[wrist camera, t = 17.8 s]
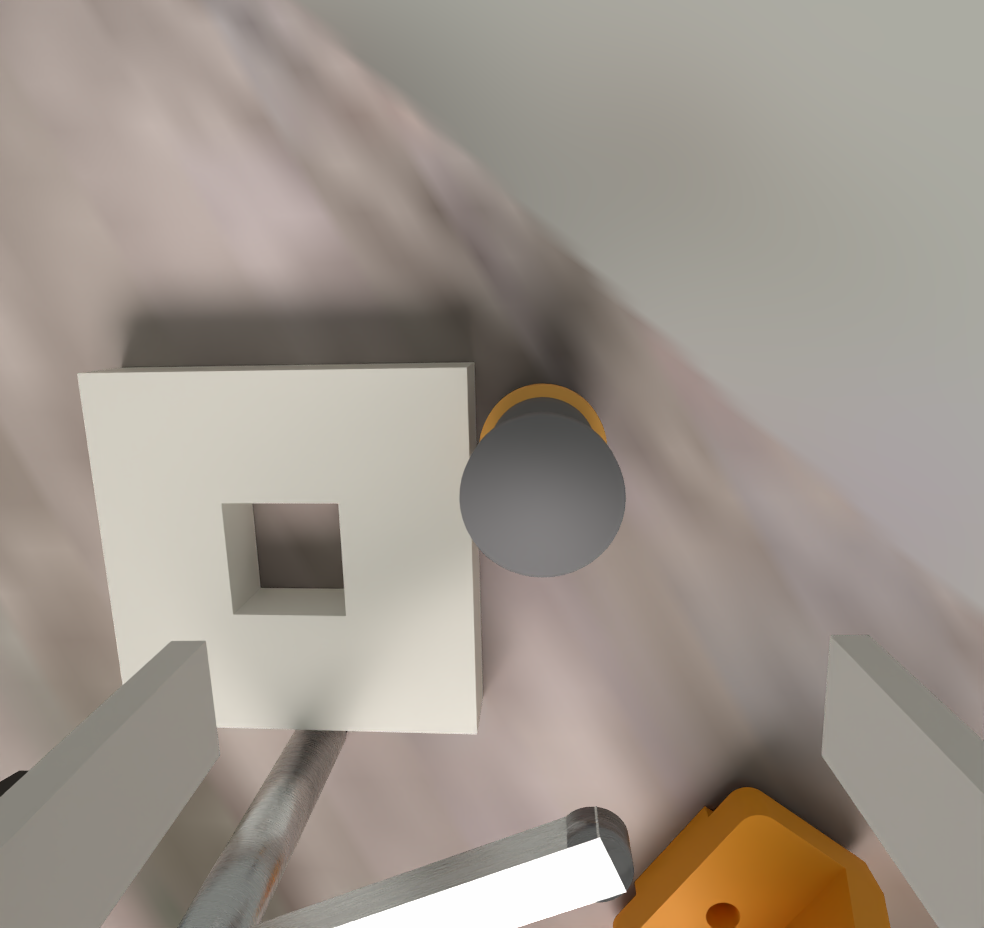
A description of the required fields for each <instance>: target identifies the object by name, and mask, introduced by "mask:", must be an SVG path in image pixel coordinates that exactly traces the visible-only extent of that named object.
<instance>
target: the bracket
mask: <svg viewBox="0 0 984 928" xmlns="http://www.w3.org/2000/svg"><path fill="white" fill-rule="evenodd" d="M634 883H635V889H636V895H635V897H634V898H633V899H632V900H631V901H630V902H629V903H628V904H627V905H626V906H625V907H624V908H623V909H622V911H621V912H620V913H619V914H618V915H617V916H616V917H615V919H614V922H613V928H890V923H889V918H888V913H887V908H886V903H885V898H884V894H883V892H882V890H881V889H880V887H879V885H878V883H877V882H876V880H875V878H874V877H873V875H872V873H871V871H870V870H869V868H868V866H867V865H866V863H865V862H864V861H863V860H861V859H860V858H858V857H857V856H855V855H854V854H852V853H851V852H849V851H848V850H846V849H845V848H844V847H842V846H841V845H839V844H838V843H836V842H835V841H833V840H832V839H830V838H829V837H827V836H826V835H824V834H823V833H822V832H820V831H819V830H817V829H816V828H814V827H813V826H811V825H810V824H808V823H807V822H805V821H804V820H802V819H801V818H800V817H798V816H797V815H795V814H794V813H792V812H791V811H789V810H788V809H786V808H785V807H783V806H782V805H780V804H779V803H777V802H776V801H775V800H773V799H772V798H770V797H769V796H767V795H766V794H764V793H763V792H761V791H760V790H758V789H755V788H751V787H743V788H739V789H736V790H735V791H733V792H732V793H730V794H729V795H728V797H727V798H726V799H725V800H724V801H723V802H722V803H721V804H720V805H719V806H718V807H717V808H716V809H715V811H714V812H713V811H711V810H710V809H708V808H707V807H705V806H704V807H703V809H702V810H701V811H700V812H699V813H698V814H697V815H696V816H695V817H694V818H693V819H692V820H691V822H690V823H689V824H688V825H687V826H686V827H685V828H684V829H683V830H682V831H681V832H680V833H679V834H678V836H677V837H676V838H675V839H674V840H673V841H672V842H671V843H670V844H669V845H668V846H667V847H666V849H665V850H664V851H663V852H662V853H661V854H660V855H659V856H658V857H657V858H656V859H655V860H654V861H653V863H652V864H651V865H650V866H649V867H648V868H647V869H646V870H645V871H644V872H643V873H642V874H641V876H640V877H639V878H638V879H637V880H636V881H635V882H634Z"/></svg>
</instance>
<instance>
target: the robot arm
mask: <svg viewBox="0 0 984 928" xmlns="http://www.w3.org/2000/svg"><path fill="white" fill-rule="evenodd" d="M219 756H220V750H219V742H218V734H217V726H216V718H215V710H214V701H213V693H212V685H211V677H210V669H209V661H208V653H207V645H206V641H171V642H169V643H168V644H167V645H166V646H165V647H164V648H163V649H162V650H161V651H160V652H159V653H157V654H156V655H155V656H154V657H153V658H152V659H151V660H150V661H149V662H148V663H146V664H145V665H144V666H143V667H142V668H141V669H140V670H139V671H138V672H137V673H136V674H134V675H133V676H132V677H131V678H130V679H129V680H128V681H127V682H126V683H125V684H123V685H122V686H121V687H120V688H119V689H118V690H117V691H116V692H115V693H114V694H113V695H111V696H110V697H109V698H108V699H107V700H106V701H105V702H104V703H103V704H102V705H100V706H99V707H98V708H97V709H96V710H95V711H94V712H93V713H92V714H91V715H90V716H88V717H87V718H86V719H85V720H84V721H83V722H82V723H81V724H80V725H79V726H77V727H76V728H75V729H74V730H73V731H72V732H71V733H70V734H69V735H68V736H67V737H65V738H64V739H63V740H62V741H61V742H60V743H59V744H58V745H57V746H56V747H54V748H53V749H52V750H51V751H50V752H49V753H48V754H47V755H46V756H45V757H44V758H42V759H41V760H40V761H39V762H38V763H37V764H36V765H35V766H34V767H33V768H31V769H30V770H29V771H18V772H16V773H15V774H13V775H11V776H9V777H8V778H6V779H4V780H3V781H1V782H0V928H100V927H101V925H102V924H103V923H104V921H105V920H106V918H107V917H108V915H109V914H110V912H111V911H112V910H113V908H114V907H115V905H116V904H117V902H118V901H119V900H120V898H121V897H122V895H123V894H124V892H125V891H126V890H127V888H128V887H129V885H130V884H131V882H132V881H133V879H134V878H135V877H136V875H137V874H138V872H139V871H140V869H141V868H142V867H143V865H144V864H145V862H146V861H147V859H148V858H149V856H150V855H151V854H152V852H153V851H154V849H155V848H156V846H157V845H158V844H159V842H160V841H161V839H162V838H163V836H164V835H165V834H166V832H167V831H168V829H169V828H170V826H171V825H172V823H173V822H174V821H175V819H176V818H177V816H178V815H179V813H180V812H181V811H182V809H183V808H184V806H185V805H186V803H187V802H188V801H189V799H190V798H191V796H192V795H193V793H194V792H195V790H196V789H197V788H198V786H199V785H200V783H201V782H202V780H203V779H204V778H205V776H206V775H207V773H208V772H209V770H210V769H211V768H212V766H213V765H214V763H215V762H216V760H217V759H218V757H219ZM822 757H823V758H824V760H825V761H826V763H827V764H828V766H829V767H830V769H831V770H832V771H833V773H834V774H835V776H836V777H837V779H838V780H839V782H840V783H841V785H842V786H843V788H844V789H845V791H846V792H847V793H848V795H849V796H850V798H851V799H852V801H853V802H854V804H855V805H856V807H857V808H858V810H859V811H860V813H861V814H862V816H863V817H864V818H865V820H866V821H867V823H868V824H869V826H870V827H871V829H872V830H873V832H874V833H875V835H876V836H877V838H878V839H879V841H880V842H881V843H882V845H883V846H884V848H885V849H886V851H887V852H888V854H889V855H890V857H891V858H892V860H893V861H894V863H895V864H896V865H897V867H898V868H899V870H900V871H901V873H902V874H903V876H904V877H905V879H906V880H907V882H908V883H909V885H910V886H911V888H912V889H913V890H914V892H915V893H916V895H917V896H918V898H919V899H920V901H921V902H922V904H923V905H924V907H925V908H926V910H927V911H928V912H929V914H930V915H931V917H932V918H933V920H934V921H935V923H936V924H937V926H938V927H939V928H984V741H983V740H982V739H981V738H980V737H979V736H978V735H977V734H976V733H974V732H973V731H972V730H971V729H970V728H969V727H968V726H967V725H966V724H965V723H964V722H962V721H961V720H960V719H959V718H958V717H957V716H956V715H955V714H954V713H953V712H952V711H951V710H949V709H948V708H947V707H946V706H945V705H944V704H943V703H942V702H941V701H940V700H939V699H937V698H936V697H935V696H934V695H933V694H932V693H931V692H930V691H929V690H928V689H927V688H925V687H924V686H923V685H922V684H921V683H920V682H919V681H918V680H917V679H916V678H915V677H914V676H912V675H911V674H910V673H909V672H908V671H907V670H906V669H905V668H904V667H903V666H902V665H900V664H899V663H898V662H897V661H896V660H895V659H894V658H893V657H892V656H891V655H890V654H889V653H887V652H886V651H885V650H884V649H883V648H882V647H881V646H880V645H879V644H878V643H877V642H875V641H874V640H873V639H872V638H871V637H870V636H869V635H830V646H829V660H828V673H827V687H826V700H825V714H824V728H823V741H822Z"/></svg>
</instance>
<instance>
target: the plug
mask: <svg viewBox="0 0 984 928" xmlns="http://www.w3.org/2000/svg"><path fill="white" fill-rule="evenodd" d="M459 501H460V510H461V514H462V519H463V522H464V524H465V527H466V529H467V531H468V533H469V535H470V537H471V539H472V540H473V541H474V543H475V544H476V546H477V547H478V548H479V549H480V550H481V551H482V552H483V553H484V554H485V555H486V556H487V557H488V558H489V559H491V560H492V561H493V562H495V563H496V564H498V565H499V566H501V567H503V568H505V569H507V570H509V571H512V572H515V573H518V574H521V575H526V576H531V577H555V576H560V575H565V574H568V573H571V572H574V571H576V570H578V569H581V568H583V567H584V566H586V565H588V564H589V563H591V562H592V561H594V560H595V559H596V558H597V557H599V556H600V555H601V554H602V553H603V552H604V551H605V550H606V549H607V548H608V546H609V545H610V543H611V542H612V541H613V539H614V538H615V536H616V534H617V532H618V530H619V528H620V525H621V522H622V519H623V515H624V511H625V501H626V495H625V485H624V480H623V476H622V473H621V470H620V467H619V465H618V463H617V461H616V459H615V457H614V455H613V453H612V451H611V449H610V448H609V446H608V445H607V441H606V435H605V431H604V428H603V425H602V423H601V421H600V419H599V417H598V415H597V414H596V412H595V411H594V409H593V408H592V406H591V405H590V404H589V403H588V402H587V401H586V400H585V399H584V398H583V397H581V396H580V395H579V394H577V393H576V392H574V391H572V390H570V389H568V388H565V387H562V386H559V385H554V384H544V383H541V384H532V385H527V386H524V387H521V388H518V389H516V390H514V391H512V392H511V393H509V394H508V395H506V396H505V397H504V398H503V399H501V400H500V401H499V402H498V403H497V404H496V406H495V407H494V408H493V409H492V411H491V412H490V414H489V416H488V417H487V419H486V422H485V424H484V426H483V429H482V432H481V435H480V441H479V443H478V445H477V446H476V448H475V449H474V451H473V452H472V454H471V456H470V458H469V460H468V462H467V465H466V467H465V469H464V472H463V475H462V478H461V484H460V494H459Z"/></svg>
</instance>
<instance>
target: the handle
mask: <svg viewBox="0 0 984 928" xmlns="http://www.w3.org/2000/svg"><path fill="white" fill-rule="evenodd" d="M345 739H346V731H332V730H295V732H294V733H293V735H292V737H291V738H290V740H289V742H288V743H287V745H286V747H285V748H284V750H283V752H282V753H281V755H280V757H279V758H278V760H277V762H276V763H275V765H274V767H273V768H272V770H271V772H270V773H269V775H268V777H267V778H266V780H265V782H264V783H263V785H262V787H261V788H260V790H259V792H258V793H257V795H256V797H255V798H254V800H253V802H252V803H251V805H250V807H249V808H248V810H247V812H246V813H245V815H244V817H243V819H242V820H241V822H240V824H239V825H238V827H237V829H236V830H235V832H234V834H233V835H232V837H231V839H230V840H229V842H228V844H227V845H226V847H225V849H224V850H223V852H222V854H221V855H220V857H219V859H218V860H217V862H216V864H215V865H214V867H213V869H212V870H211V872H210V874H209V875H208V877H207V879H206V880H205V882H204V884H203V885H202V887H201V889H200V890H199V892H198V894H197V895H196V897H195V899H194V900H193V902H192V904H191V905H190V907H189V909H188V910H187V912H186V914H185V915H184V917H183V919H182V920H181V922H180V924H179V925H178V927H177V928H517V927H520V926H523V925H526V924H529V923H532V922H535V921H538V920H541V919H545V918H548V917H551V916H554V915H557V914H560V913H563V912H566V911H569V910H572V909H575V908H578V907H581V906H585V905H588V904H591V903H594V902H607V901H610V900H613V899H615V898H617V897H619V896H621V895H622V894H623V893H625V892H627V891H626V890H627V889H628V888H629V886H630V885H631V883H632V880H633V876H634V867H633V861H632V854H631V848H630V842H629V835H628V831H627V828H626V826H625V824H624V822H623V821H622V820H621V819H620V818H619V817H618V816H617V815H616V814H614V813H613V812H611V811H609V810H607V809H603V808H599V807H597V806H596V807H585V808H580V809H577V810H575V811H573V812H571V813H570V814H569V815H567V816H566V817H564V818H561V819H558V820H555V821H552V822H550V823H547V824H544V825H541V826H538V827H535V828H532V829H529V830H527V831H524V832H521V833H518V834H515V835H512V836H509V837H506V838H504V839H501V840H498V841H495V842H492V843H489V844H486V845H483V846H481V847H478V848H475V849H472V850H469V851H466V852H463V853H460V854H458V855H455V856H452V857H449V858H446V859H443V860H440V861H437V862H435V863H432V864H429V865H426V866H423V867H420V868H417V869H414V870H412V871H409V872H406V873H403V874H400V875H397V876H394V877H391V878H389V879H386V880H383V881H380V882H377V883H374V884H371V885H368V886H366V887H363V888H360V889H357V890H354V891H351V892H348V893H345V894H343V895H340V896H337V897H334V898H331V899H328V900H325V901H322V902H320V903H317V904H314V905H311V906H308V907H305V908H302V909H299V910H297V911H294V912H291V913H288V914H285V915H282V916H279V917H276V918H274V919H271V920H268V921H265V922H262V923H260V922H261V920H262V918H263V916H264V914H265V911H266V909H267V907H268V905H269V903H270V901H271V899H272V896H273V894H274V892H275V890H276V888H277V886H278V884H279V881H280V879H281V877H282V875H283V873H284V871H285V869H286V866H287V864H288V862H289V860H290V858H291V856H292V854H293V851H294V849H295V847H296V845H297V843H298V841H299V839H300V837H301V834H302V832H303V830H304V828H305V826H306V824H307V822H308V819H309V817H310V815H311V813H312V811H313V809H314V807H315V804H316V802H317V800H318V798H319V796H320V794H321V792H322V789H323V787H324V785H325V783H326V781H327V779H328V777H329V774H330V772H331V770H332V768H333V766H334V764H335V762H336V759H337V757H338V755H339V753H340V751H341V749H342V747H343V744H344V742H345Z"/></svg>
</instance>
